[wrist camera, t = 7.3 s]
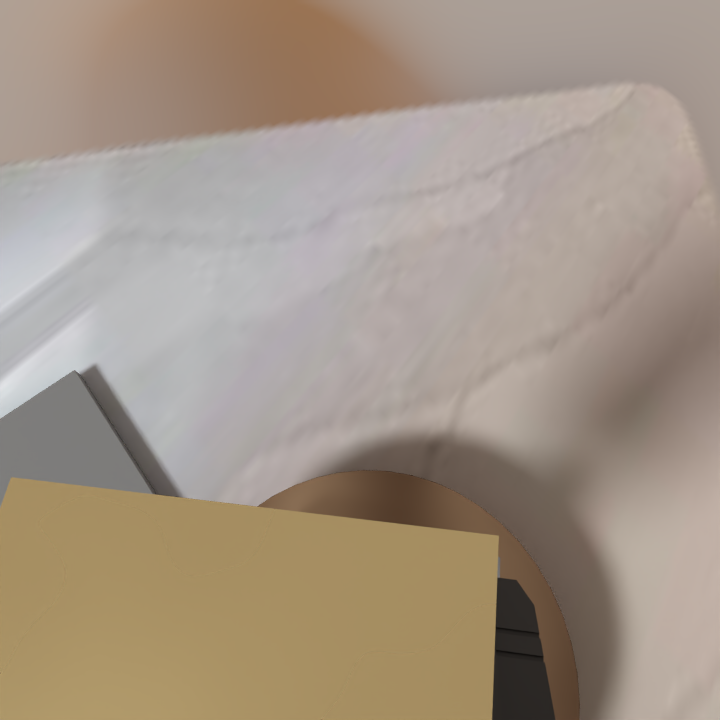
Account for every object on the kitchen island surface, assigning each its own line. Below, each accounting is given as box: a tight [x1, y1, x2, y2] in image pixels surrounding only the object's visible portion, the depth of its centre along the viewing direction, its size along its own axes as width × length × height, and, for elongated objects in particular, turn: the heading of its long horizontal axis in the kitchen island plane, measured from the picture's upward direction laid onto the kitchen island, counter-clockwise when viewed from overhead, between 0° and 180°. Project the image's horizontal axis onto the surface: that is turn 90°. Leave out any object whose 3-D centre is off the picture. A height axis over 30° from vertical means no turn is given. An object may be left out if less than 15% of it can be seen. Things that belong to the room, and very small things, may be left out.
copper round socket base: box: [257, 470, 580, 720], centre depth 21 cm, size 14×14×4 cm
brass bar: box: [0, 477, 499, 720], centre depth 9 cm, size 4×4×12 cm
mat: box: [0, 370, 156, 507], centre depth 26 cm, size 12×12×1 cm
